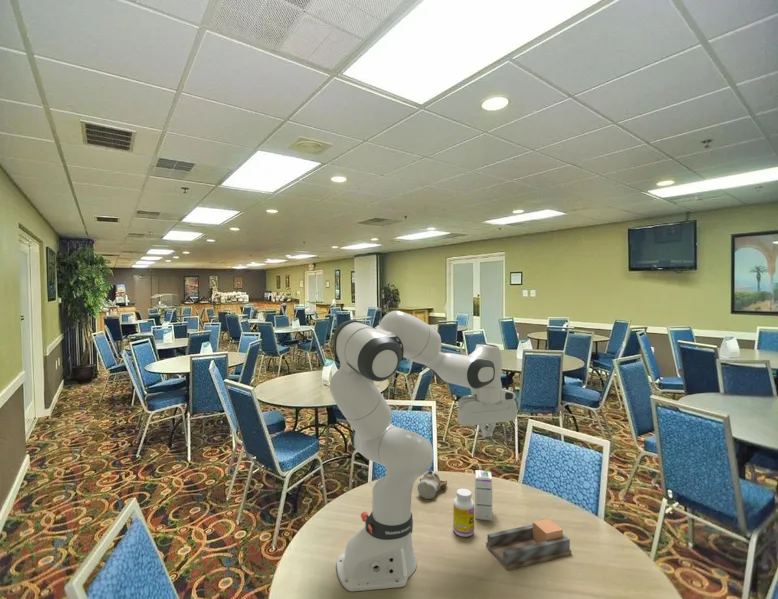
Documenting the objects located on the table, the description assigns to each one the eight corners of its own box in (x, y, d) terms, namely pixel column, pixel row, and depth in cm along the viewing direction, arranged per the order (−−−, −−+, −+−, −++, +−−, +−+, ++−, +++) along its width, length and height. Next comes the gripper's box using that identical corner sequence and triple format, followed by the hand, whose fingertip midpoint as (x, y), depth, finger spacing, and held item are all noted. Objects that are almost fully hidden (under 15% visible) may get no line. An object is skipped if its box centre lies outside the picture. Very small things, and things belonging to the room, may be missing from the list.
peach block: (546, 550, 114) (546, 533, 114) (532, 537, 120) (532, 522, 120) (562, 546, 116) (562, 529, 116) (548, 534, 122) (548, 518, 122)
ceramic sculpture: (411, 475, 145) (423, 461, 159) (410, 498, 144) (423, 483, 158) (439, 481, 141) (449, 466, 154) (438, 505, 140) (448, 488, 154)
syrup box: (492, 521, 131) (493, 478, 130) (474, 518, 132) (475, 476, 132) (491, 511, 136) (492, 470, 136) (474, 509, 138) (474, 469, 137)
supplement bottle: (470, 540, 121) (471, 499, 120) (450, 534, 124) (450, 494, 123) (476, 528, 126) (476, 489, 126) (456, 523, 130) (457, 485, 129)
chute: (507, 570, 107) (507, 556, 107) (486, 545, 118) (486, 532, 118) (571, 554, 114) (571, 540, 114) (545, 532, 125) (545, 520, 125)
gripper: (463, 398, 118) (463, 443, 118) (520, 393, 125) (519, 436, 125) (453, 393, 124) (453, 436, 124) (508, 389, 131) (507, 429, 131)
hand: (487, 436), depth 125 cm, fingers closed
